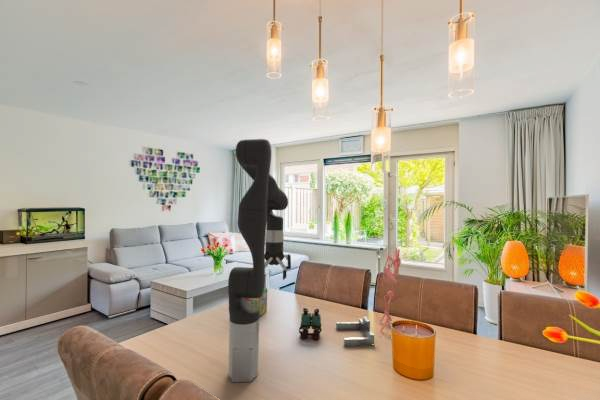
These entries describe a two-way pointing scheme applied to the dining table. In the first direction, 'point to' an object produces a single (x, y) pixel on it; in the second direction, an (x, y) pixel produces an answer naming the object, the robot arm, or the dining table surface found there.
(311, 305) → the dining table surface
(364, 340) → the bracket
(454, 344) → the dining table surface
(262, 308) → the chalk box
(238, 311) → the robot arm
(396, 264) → the figurine
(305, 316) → the binoculars
